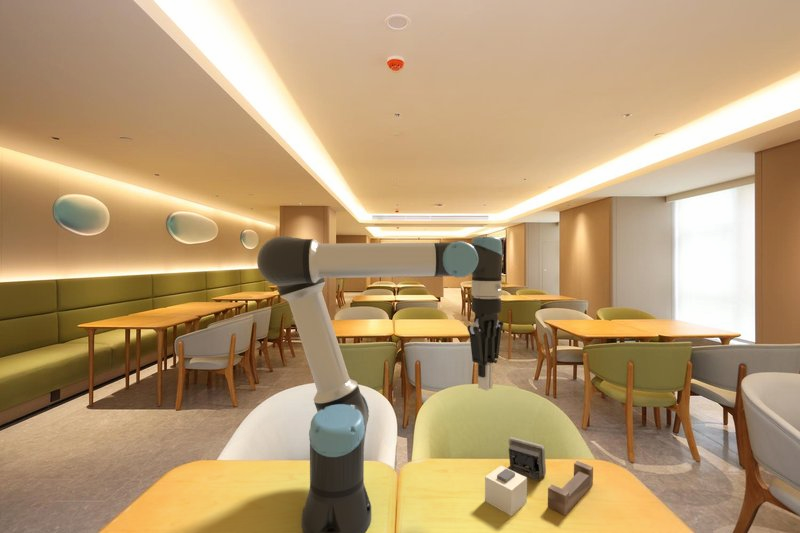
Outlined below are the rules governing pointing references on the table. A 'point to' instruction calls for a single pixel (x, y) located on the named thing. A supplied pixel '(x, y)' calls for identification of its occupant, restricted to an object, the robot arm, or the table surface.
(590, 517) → the table surface
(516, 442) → the electrical switch
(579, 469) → the bracket
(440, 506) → the table surface
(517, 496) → the socket block
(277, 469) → the table surface
